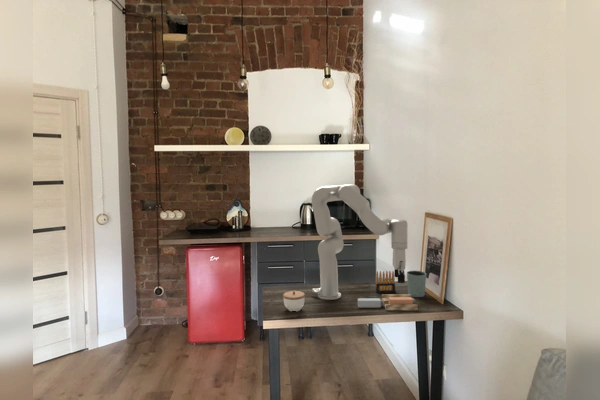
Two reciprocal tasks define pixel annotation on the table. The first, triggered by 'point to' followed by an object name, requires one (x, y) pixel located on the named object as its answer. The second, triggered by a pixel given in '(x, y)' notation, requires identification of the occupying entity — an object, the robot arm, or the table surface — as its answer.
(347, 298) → the table surface
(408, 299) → the tan wooden block
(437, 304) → the table surface
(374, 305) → the light grey rectangular bar
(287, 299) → the lidded jar
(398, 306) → the comb board
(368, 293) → the table surface
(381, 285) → the ammunition clip
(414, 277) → the green plant pot
